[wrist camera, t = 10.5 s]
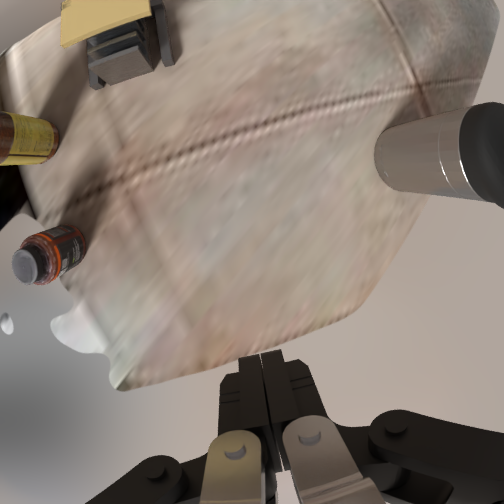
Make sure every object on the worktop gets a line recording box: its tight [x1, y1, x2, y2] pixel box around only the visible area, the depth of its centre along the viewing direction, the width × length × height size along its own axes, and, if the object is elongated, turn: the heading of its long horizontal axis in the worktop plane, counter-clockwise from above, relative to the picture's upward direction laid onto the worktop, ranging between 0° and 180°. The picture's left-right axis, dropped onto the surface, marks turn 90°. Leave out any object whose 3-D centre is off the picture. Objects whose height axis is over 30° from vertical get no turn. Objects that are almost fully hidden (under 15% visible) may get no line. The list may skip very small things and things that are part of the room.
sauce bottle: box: [0, 111, 59, 165], centre depth 24 cm, size 6×6×20 cm
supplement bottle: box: [12, 225, 86, 285], centre depth 31 cm, size 6×6×11 cm
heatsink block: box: [87, 17, 153, 86], centre depth 28 cm, size 6×9×8 cm, turn 12°
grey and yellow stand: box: [61, 0, 174, 90], centre depth 27 cm, size 11×10×10 cm
